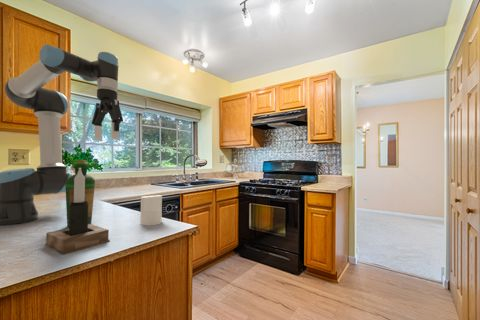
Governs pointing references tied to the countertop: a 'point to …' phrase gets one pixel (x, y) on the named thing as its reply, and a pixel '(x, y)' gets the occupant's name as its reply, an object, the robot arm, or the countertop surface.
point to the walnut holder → (76, 239)
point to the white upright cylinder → (151, 210)
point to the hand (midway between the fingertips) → (106, 140)
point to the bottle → (88, 189)
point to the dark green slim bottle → (78, 207)
